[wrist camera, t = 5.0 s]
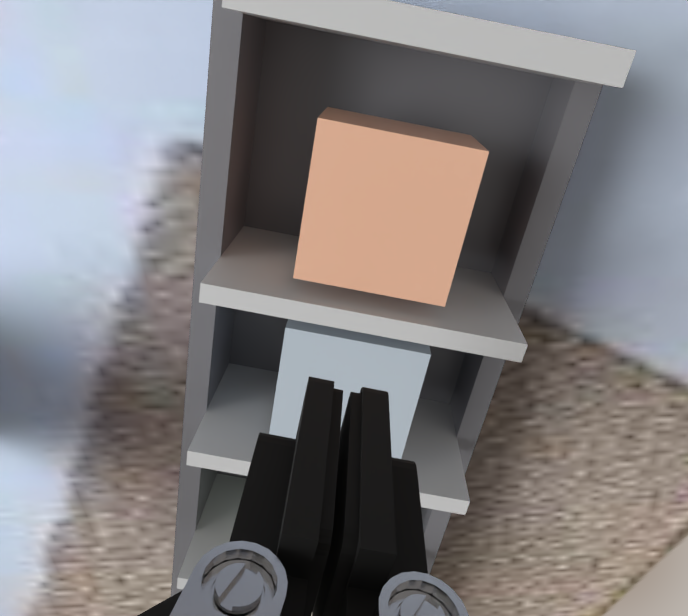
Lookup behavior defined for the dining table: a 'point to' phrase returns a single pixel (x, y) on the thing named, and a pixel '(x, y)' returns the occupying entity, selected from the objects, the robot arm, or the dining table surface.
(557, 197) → the slotted cube rack
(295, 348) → the pale blue block
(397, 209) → the light orange square block
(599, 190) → the dining table surface
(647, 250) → the dining table surface
